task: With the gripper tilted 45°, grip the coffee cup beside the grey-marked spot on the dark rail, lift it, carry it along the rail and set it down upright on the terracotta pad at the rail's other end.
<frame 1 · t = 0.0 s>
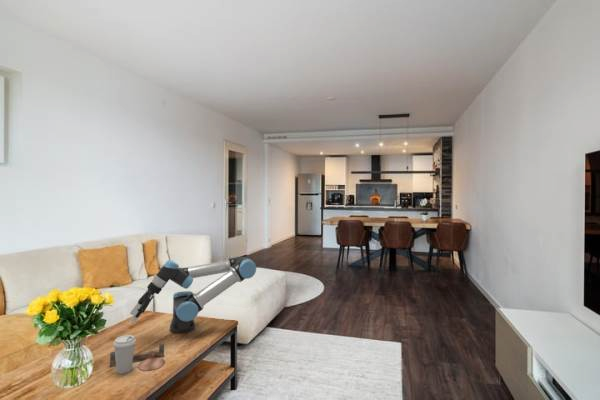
hand: (131, 318, 180), 15 cm above the table, tool tilted 35°, fingers open, 13 cm apart
coffee cup: (124, 370, 154), on the table
rail: (138, 366, 157), on the table
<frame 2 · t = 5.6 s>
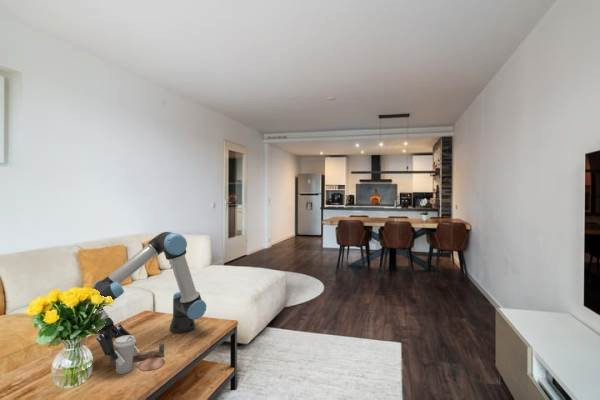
hand: (130, 358, 153), 6 cm above the table, tool tilted 45°, fingers closed on coffee cup, 9 cm apart
coffee cup: (124, 370, 154), on the table, touching gripper
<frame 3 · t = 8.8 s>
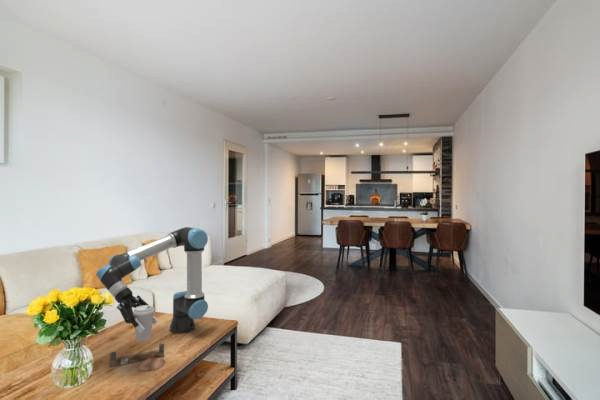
hand: (149, 326, 157), 20 cm above the table, tool tilted 45°, fingers closed on coffee cup, 9 cm apart
coffee cup: (143, 338, 158), point 14 cm above the table, touching gripper
when the fingers open (8 cm above the table, at t = 11.9 s): coffee cup drops 1 cm, resting on rail.
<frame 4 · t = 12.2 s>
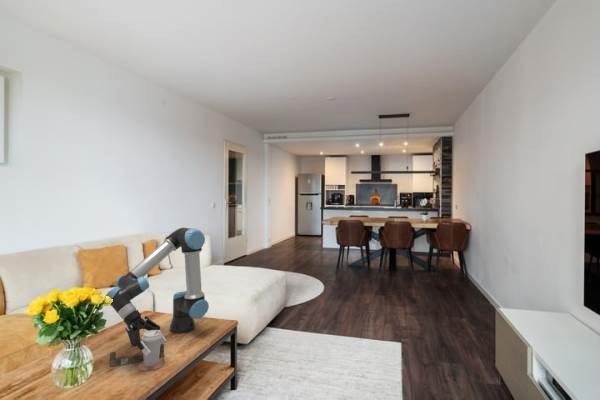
hand: (156, 347, 159), 8 cm above the table, tool tilted 45°, fingers open, 12 cm apart
coffee cup: (151, 363, 159), resting on rail
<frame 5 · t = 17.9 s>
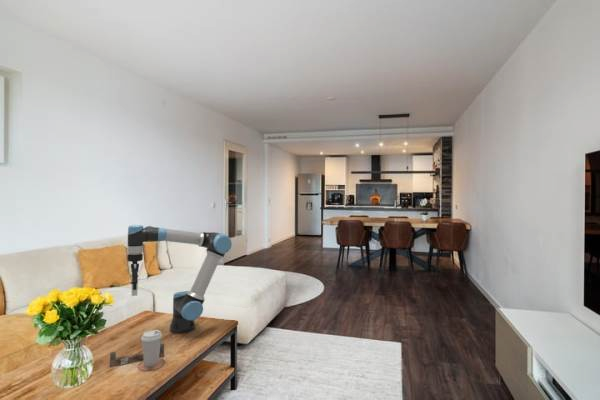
hand: (134, 292, 176), 31 cm above the table, tool pointing down, fingers open, 13 cm apart
nothing on the table moved.
at the end: coffee cup 0.3 cm from the target spot on the rail, point 0.4 cm above the rail's base; coffee cup tilted 0°; the gripper is holding nothing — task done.
